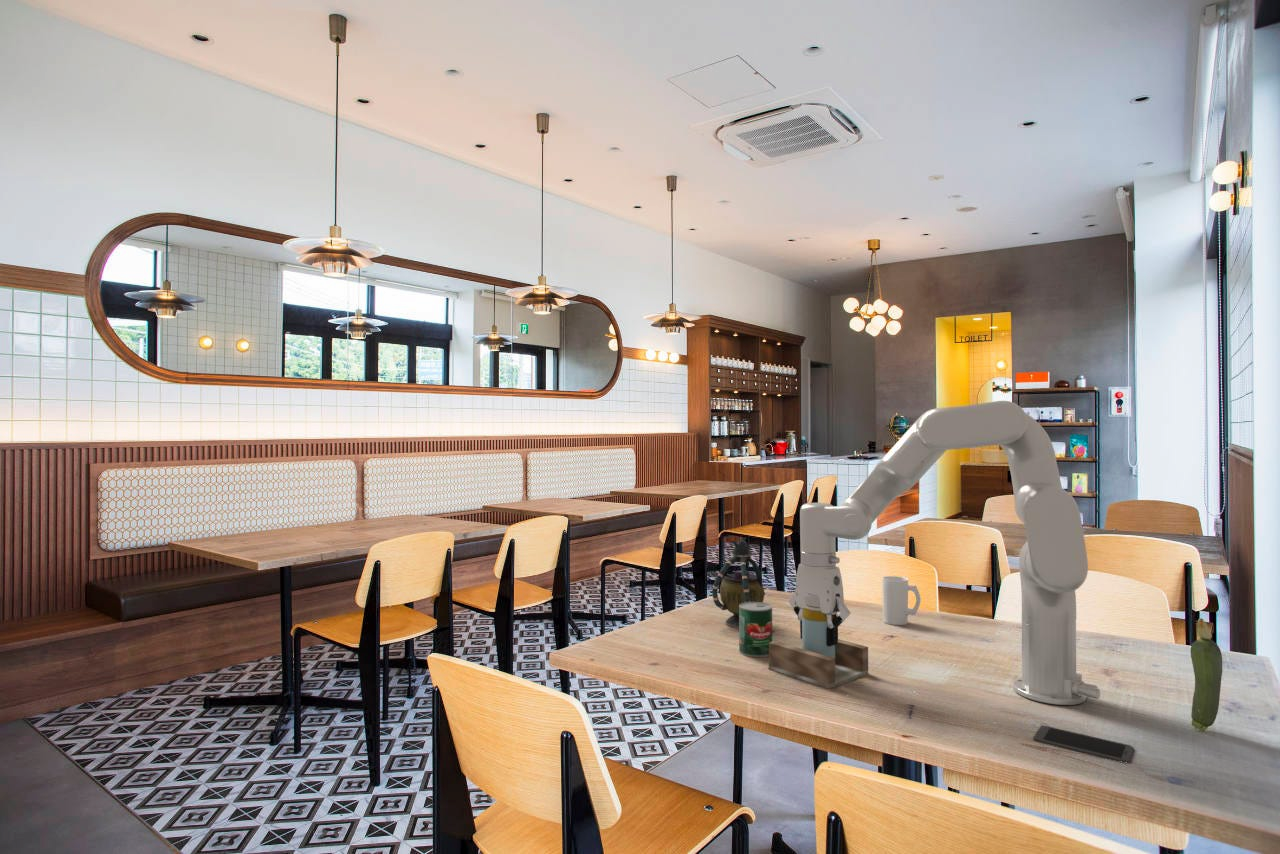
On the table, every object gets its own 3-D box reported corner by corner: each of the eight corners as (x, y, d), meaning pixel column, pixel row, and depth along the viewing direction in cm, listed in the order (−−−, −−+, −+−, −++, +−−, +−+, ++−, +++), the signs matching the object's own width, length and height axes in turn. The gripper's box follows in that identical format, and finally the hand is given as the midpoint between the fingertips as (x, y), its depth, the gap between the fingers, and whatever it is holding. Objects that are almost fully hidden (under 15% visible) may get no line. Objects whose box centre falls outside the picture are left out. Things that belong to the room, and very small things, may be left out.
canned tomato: (757, 659, 167) (757, 611, 167) (732, 651, 173) (732, 605, 173) (779, 652, 172) (779, 606, 172) (754, 644, 178) (754, 600, 178)
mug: (878, 623, 197) (878, 579, 197) (887, 617, 202) (886, 575, 202) (916, 629, 191) (916, 583, 191) (924, 623, 196) (923, 579, 196)
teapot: (708, 629, 192) (708, 541, 192) (742, 608, 214) (742, 529, 214) (751, 635, 186) (751, 545, 186) (782, 613, 208) (781, 532, 208)
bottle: (832, 656, 161) (832, 590, 161) (837, 667, 155) (837, 597, 154) (800, 656, 162) (800, 589, 162) (804, 666, 155) (804, 597, 155)
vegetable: (1208, 726, 128) (1208, 614, 128) (1229, 736, 124) (1229, 620, 124) (1184, 726, 128) (1184, 614, 128) (1204, 737, 124) (1204, 621, 124)
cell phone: (1040, 728, 129) (1040, 724, 129) (1135, 750, 120) (1135, 746, 120) (1031, 742, 123) (1031, 738, 123) (1129, 766, 114) (1129, 762, 114)
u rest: (868, 673, 157) (868, 646, 157) (829, 688, 148) (829, 660, 148) (808, 655, 169) (808, 631, 169) (768, 668, 160) (768, 642, 160)
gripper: (862, 562, 154) (863, 647, 154) (797, 552, 167) (797, 630, 167) (841, 567, 149) (842, 654, 149) (776, 556, 163) (776, 636, 163)
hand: (818, 640), depth 158 cm, fingers closed on bottle, 6 cm apart
